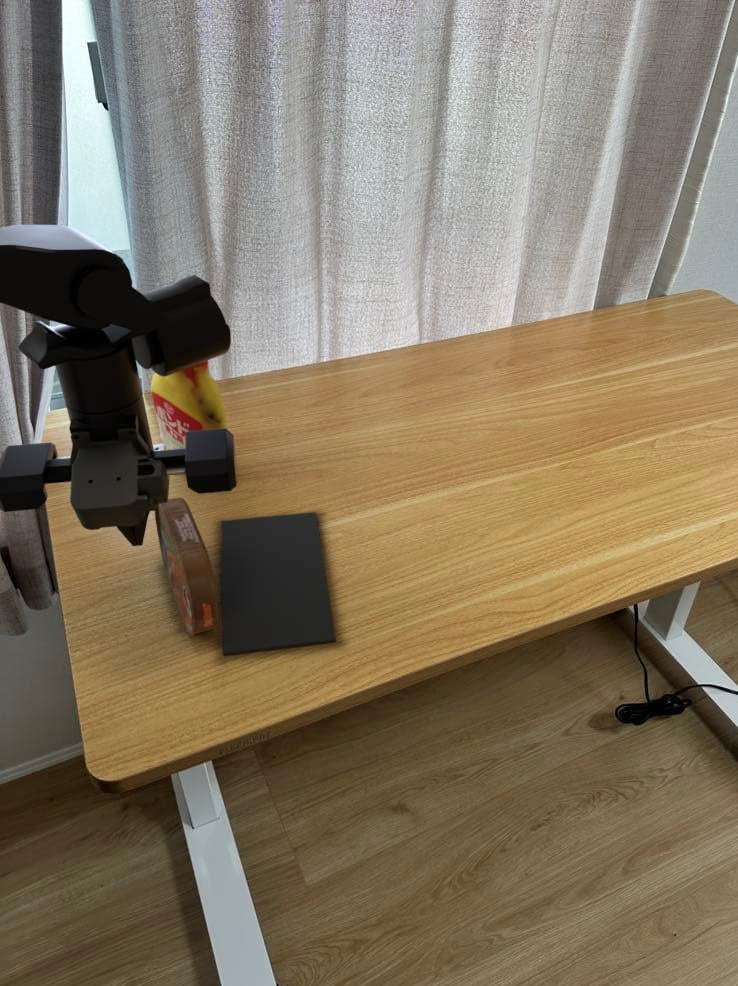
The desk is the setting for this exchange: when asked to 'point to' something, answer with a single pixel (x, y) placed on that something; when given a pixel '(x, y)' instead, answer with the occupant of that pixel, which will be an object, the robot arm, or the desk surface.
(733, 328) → the desk surface
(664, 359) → the desk surface
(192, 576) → the tin
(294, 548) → the mat
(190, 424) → the bottle
